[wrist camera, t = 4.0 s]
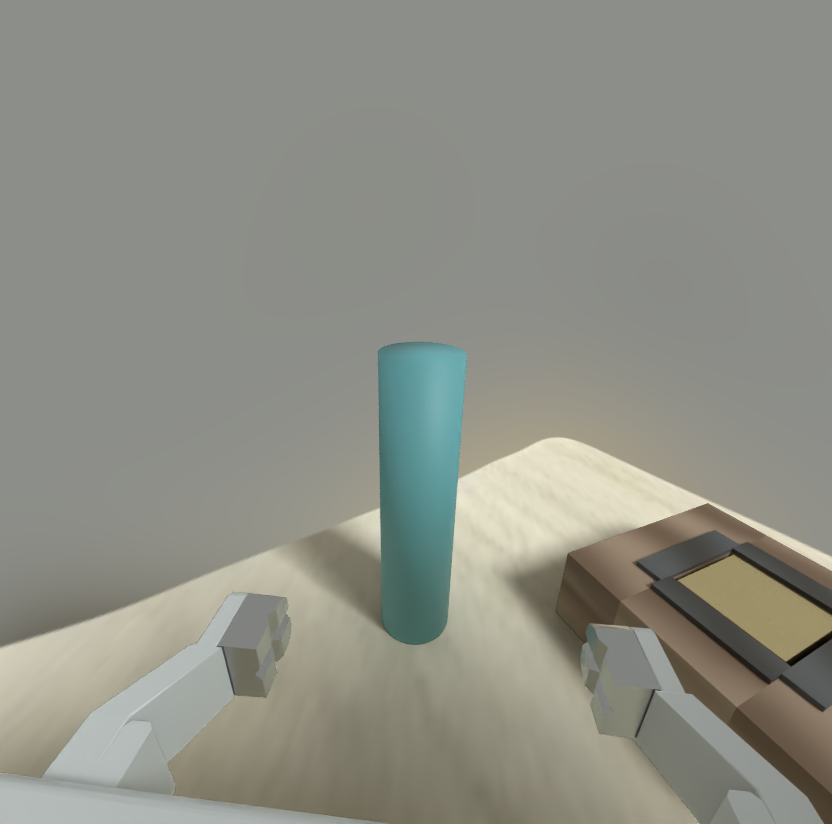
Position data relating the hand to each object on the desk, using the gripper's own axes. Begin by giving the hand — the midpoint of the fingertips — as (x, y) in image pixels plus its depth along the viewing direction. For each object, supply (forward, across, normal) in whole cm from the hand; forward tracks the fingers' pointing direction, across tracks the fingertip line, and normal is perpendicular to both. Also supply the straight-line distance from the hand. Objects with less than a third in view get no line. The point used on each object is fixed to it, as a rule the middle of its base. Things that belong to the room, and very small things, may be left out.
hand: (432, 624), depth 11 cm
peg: (+12, +1, +14) cm, 18 cm away
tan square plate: (+10, -18, +10) cm, 23 cm away
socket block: (+10, -18, +14) cm, 25 cm away
